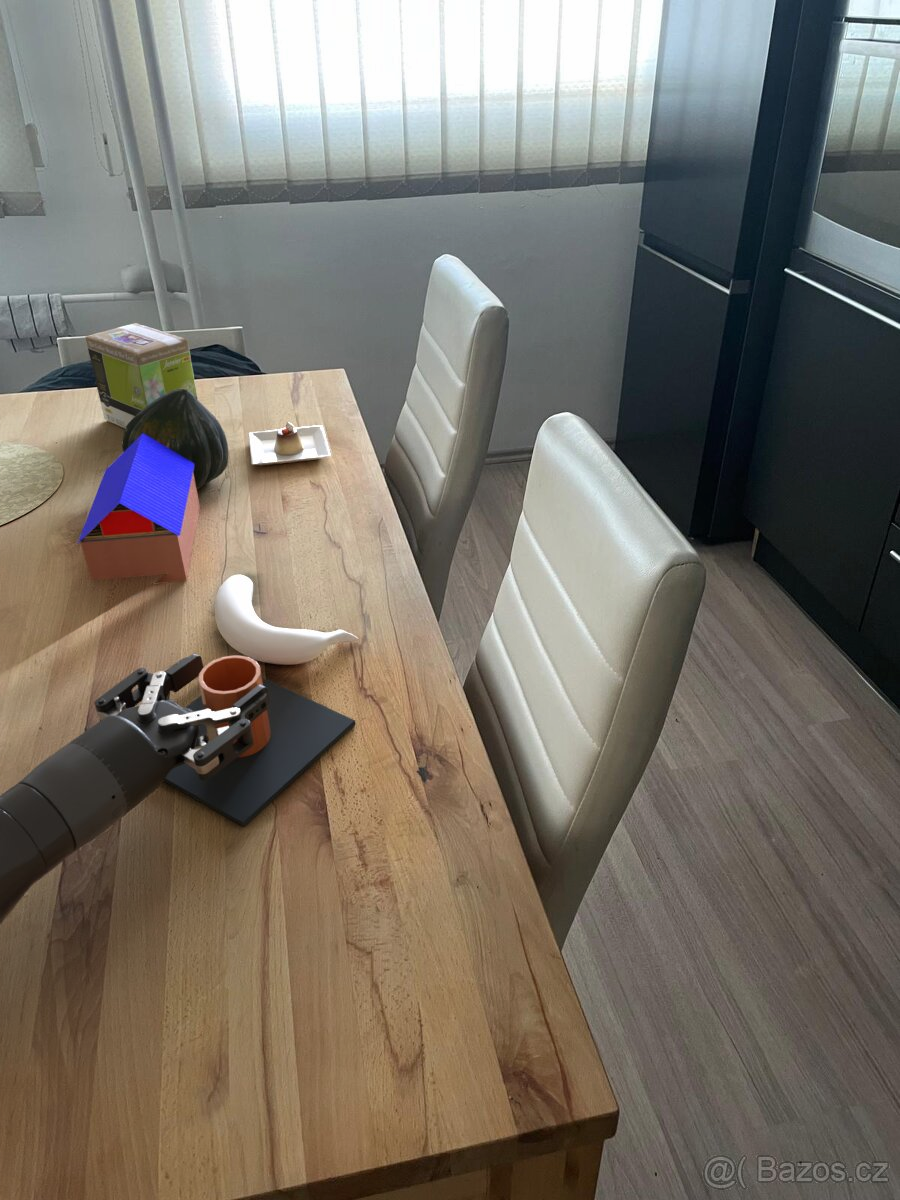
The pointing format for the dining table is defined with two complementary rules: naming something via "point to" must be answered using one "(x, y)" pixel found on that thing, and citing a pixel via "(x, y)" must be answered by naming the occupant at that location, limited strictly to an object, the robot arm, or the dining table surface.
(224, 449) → the squash
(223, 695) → the cup
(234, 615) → the banana
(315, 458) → the dessert
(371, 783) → the dining table surface
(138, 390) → the tea box
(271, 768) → the mat
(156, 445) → the house
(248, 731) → the robot arm
